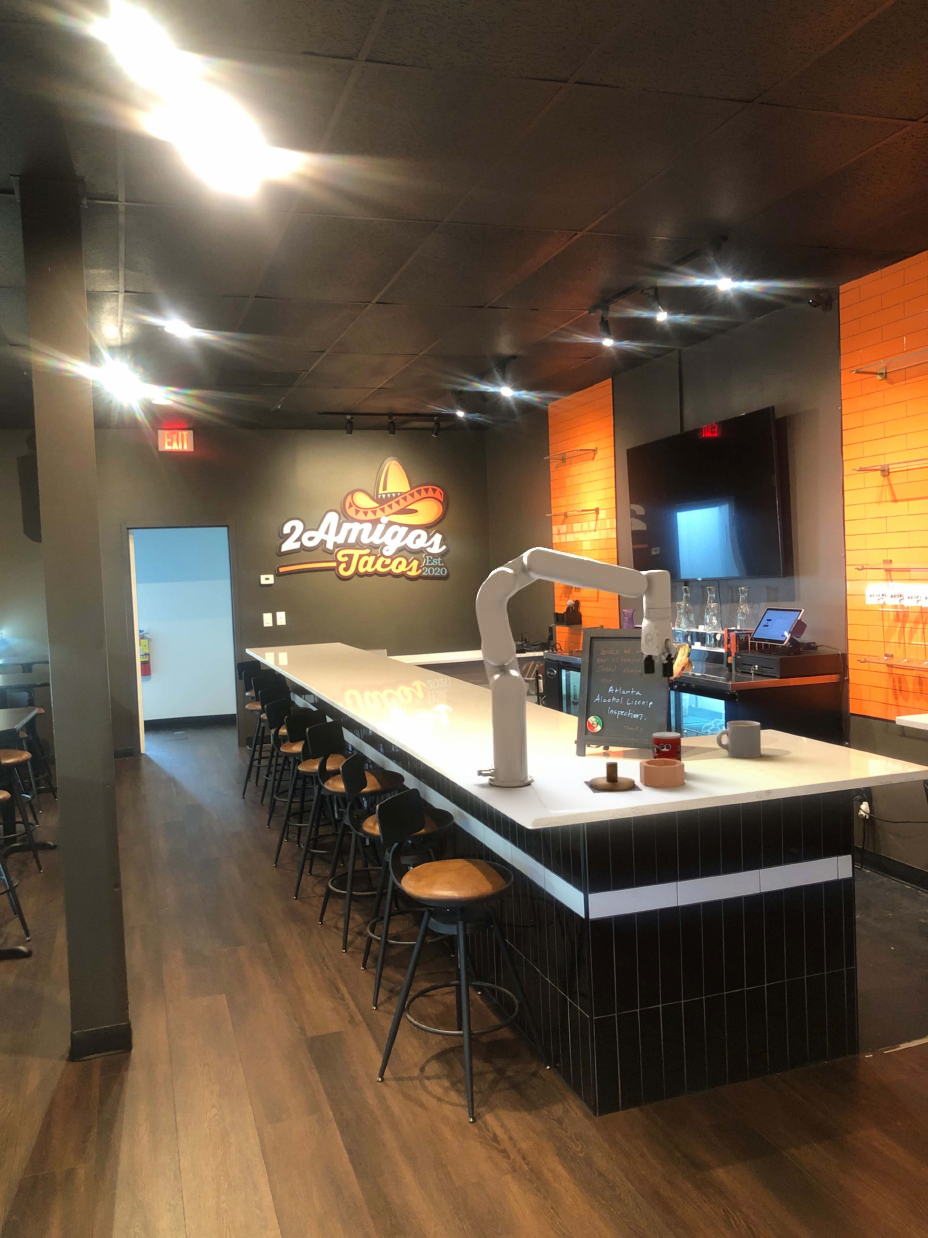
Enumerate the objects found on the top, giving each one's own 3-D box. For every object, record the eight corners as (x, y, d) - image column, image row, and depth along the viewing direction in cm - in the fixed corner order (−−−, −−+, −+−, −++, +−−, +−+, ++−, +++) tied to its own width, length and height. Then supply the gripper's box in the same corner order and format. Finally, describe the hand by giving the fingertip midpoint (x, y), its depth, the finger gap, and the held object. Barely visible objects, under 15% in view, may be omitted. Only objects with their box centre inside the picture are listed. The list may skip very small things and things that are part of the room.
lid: (595, 792, 236) (594, 768, 236) (585, 781, 248) (585, 759, 248) (640, 790, 237) (639, 766, 237) (628, 779, 249) (628, 757, 249)
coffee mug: (757, 752, 284) (756, 720, 284) (763, 758, 274) (763, 725, 274) (713, 752, 286) (713, 721, 285) (718, 758, 276) (718, 726, 275)
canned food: (648, 770, 262) (647, 733, 262) (671, 768, 265) (670, 730, 265) (662, 776, 255) (662, 737, 255) (686, 773, 258) (686, 735, 257)
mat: (593, 795, 236) (593, 792, 236) (583, 783, 249) (583, 781, 249) (642, 792, 237) (642, 790, 237) (629, 781, 250) (629, 779, 250)
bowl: (647, 790, 239) (647, 768, 239) (636, 781, 250) (636, 759, 250) (688, 788, 240) (688, 766, 239) (675, 779, 251) (675, 757, 250)
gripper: (629, 614, 259) (631, 673, 260) (662, 616, 242) (663, 679, 243) (652, 612, 261) (654, 671, 262) (686, 614, 245) (687, 677, 246)
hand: (658, 675), depth 253 cm, fingers open, 9 cm apart
